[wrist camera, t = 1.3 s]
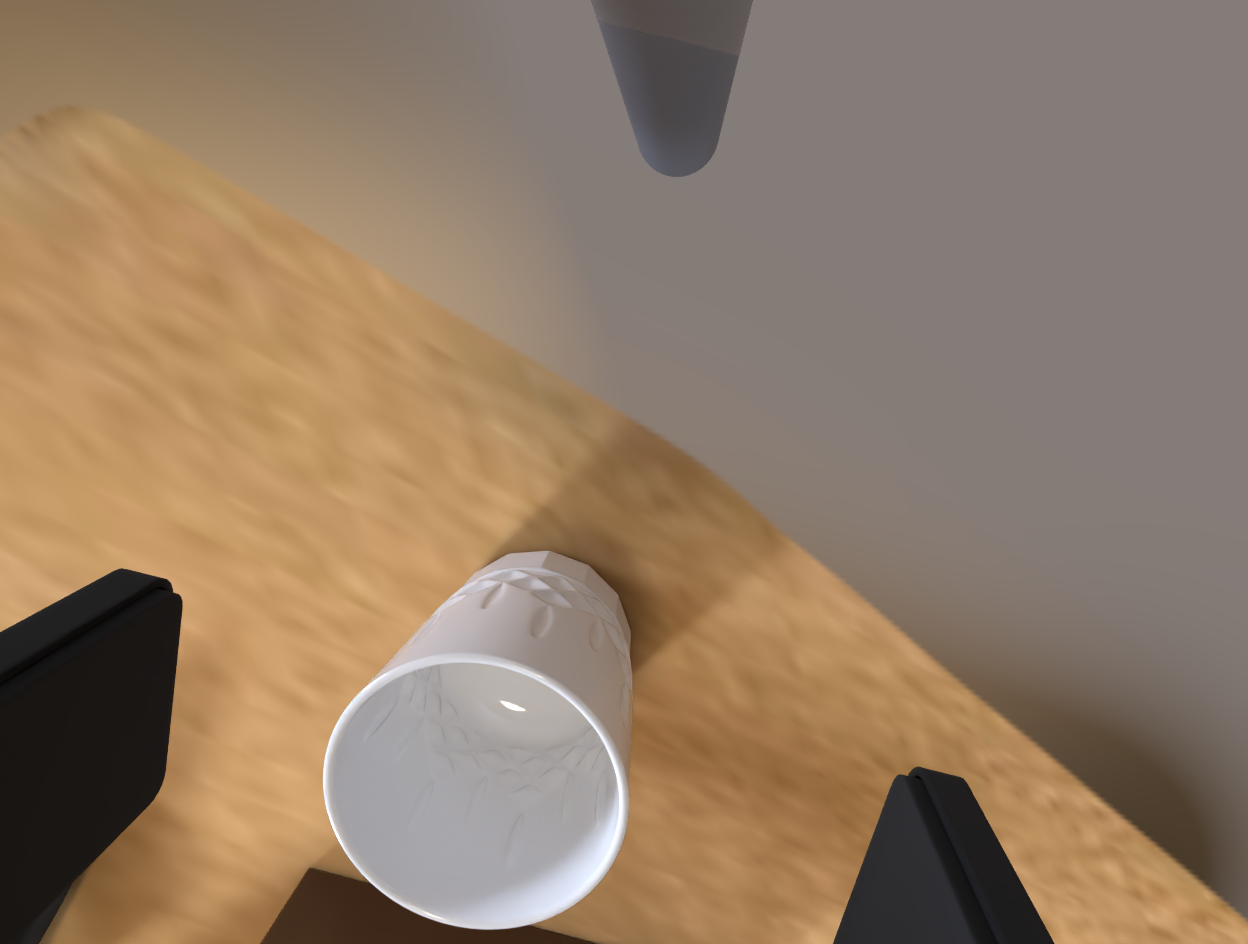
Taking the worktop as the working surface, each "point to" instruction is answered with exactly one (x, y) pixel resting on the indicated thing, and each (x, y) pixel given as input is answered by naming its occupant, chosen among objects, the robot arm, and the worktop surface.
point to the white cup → (493, 750)
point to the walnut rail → (377, 919)
